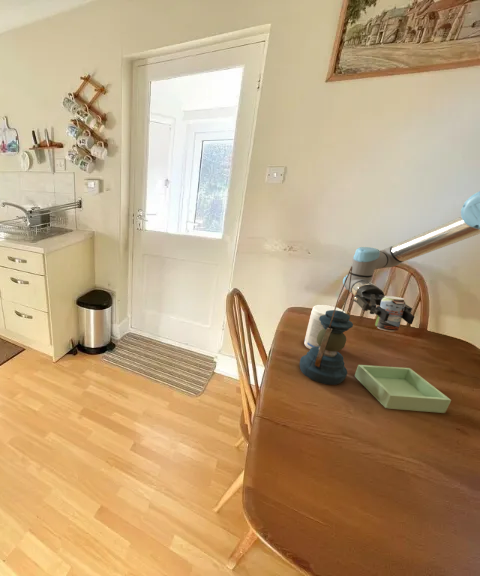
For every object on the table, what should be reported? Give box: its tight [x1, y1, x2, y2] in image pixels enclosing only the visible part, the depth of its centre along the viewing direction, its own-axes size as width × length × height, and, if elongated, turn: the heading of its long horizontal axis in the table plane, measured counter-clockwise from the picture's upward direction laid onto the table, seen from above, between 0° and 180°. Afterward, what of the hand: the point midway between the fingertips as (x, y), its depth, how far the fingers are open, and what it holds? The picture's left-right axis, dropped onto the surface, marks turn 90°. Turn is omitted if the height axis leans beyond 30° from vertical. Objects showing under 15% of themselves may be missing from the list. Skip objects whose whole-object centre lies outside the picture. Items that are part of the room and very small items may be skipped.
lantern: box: [299, 266, 354, 386], centre depth 90 cm, size 14×12×35 cm
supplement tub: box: [303, 304, 347, 350], centre depth 107 cm, size 10×10×15 cm
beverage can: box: [374, 295, 406, 333], centre depth 107 cm, size 6×7×12 cm
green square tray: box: [354, 364, 452, 414], centre depth 87 cm, size 14×14×4 cm
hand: (399, 318), depth 102 cm, fingers closed on beverage can, 6 cm apart
